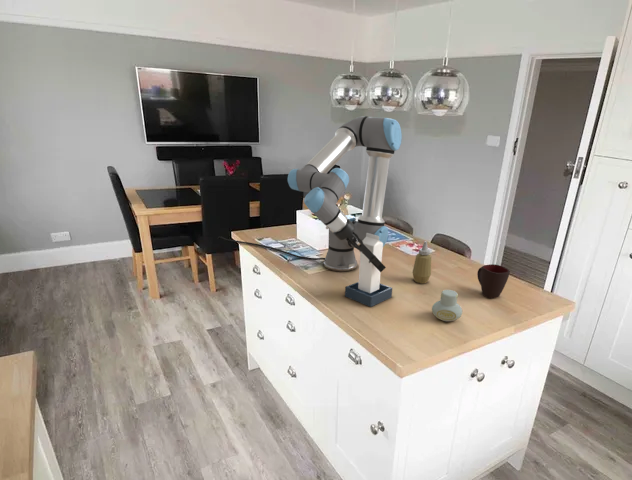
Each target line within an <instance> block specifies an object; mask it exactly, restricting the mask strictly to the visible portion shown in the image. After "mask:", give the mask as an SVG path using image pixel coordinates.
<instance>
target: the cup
mask: <svg viewBox="0 0 632 480" xmlns="http://www.w3.org/2000/svg"><path fill="white" fill-rule="evenodd" d="M510 274H511V271H510V269H508V268H507V267H504V266H502V265H500V264H484V265H482V266H481V267H479V268H478V269H477V273H476V275H477V280H478V283H479V285H480V288H481V294H482V295H483V296H484V297H485V298H487V299H498V298H500V295H501V294H502V293H503V291H504V289H505V288H506V287H505V286H506V284H507V282H508V280H509V277H510Z"/></svg>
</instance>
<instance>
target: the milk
mask: <svg viewBox="0 0 632 480" xmlns="http://www.w3.org/2000/svg"><path fill="white" fill-rule="evenodd" d="M363 244H364V245H365V246H366V247H367V248H368V249H369V250H370V251H371V252H372V253H373V254H374V255H375V256H376V257H377V258H378V260H379V261H380V262H381V263H383V262H382V261H383V248H384V247H383V243H382V242H381V241H379V236H377V235H373V234H369V233H366V237H365V238H364V240H363ZM359 252H360V253H359V267H358V282H359V283H358V289H360V290H362V291H365V292H368V293H372V292H374V291H376V290H379V285H380V283H381V273H382V272H380V271H379V270H378V269H377V268H376V267H375V266H374V265H373V264H372V263H371V262H370V263H369V259H368V258H367V257H366V256H365V255H364V254H363V253H362V252H361V251H359Z"/></svg>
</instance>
